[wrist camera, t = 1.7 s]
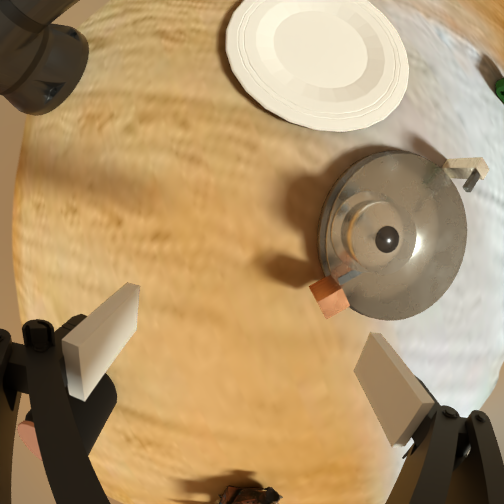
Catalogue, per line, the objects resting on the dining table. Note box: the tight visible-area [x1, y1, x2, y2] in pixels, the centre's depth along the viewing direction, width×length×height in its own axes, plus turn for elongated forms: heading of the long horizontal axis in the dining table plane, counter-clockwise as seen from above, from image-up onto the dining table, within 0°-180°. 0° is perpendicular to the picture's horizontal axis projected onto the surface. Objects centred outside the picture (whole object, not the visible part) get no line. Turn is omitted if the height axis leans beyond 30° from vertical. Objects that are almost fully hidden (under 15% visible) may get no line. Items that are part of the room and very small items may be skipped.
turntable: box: [309, 153, 467, 320], centre depth 32 cm, size 25×22×6 cm
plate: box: [226, 0, 409, 132], centre depth 30 cm, size 25×25×2 cm
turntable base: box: [317, 151, 489, 318], centre depth 32 cm, size 25×23×8 cm
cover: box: [330, 191, 417, 275], centre depth 30 cm, size 10×10×6 cm
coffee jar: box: [17, 373, 117, 461], centre depth 33 cm, size 11×11×18 cm
